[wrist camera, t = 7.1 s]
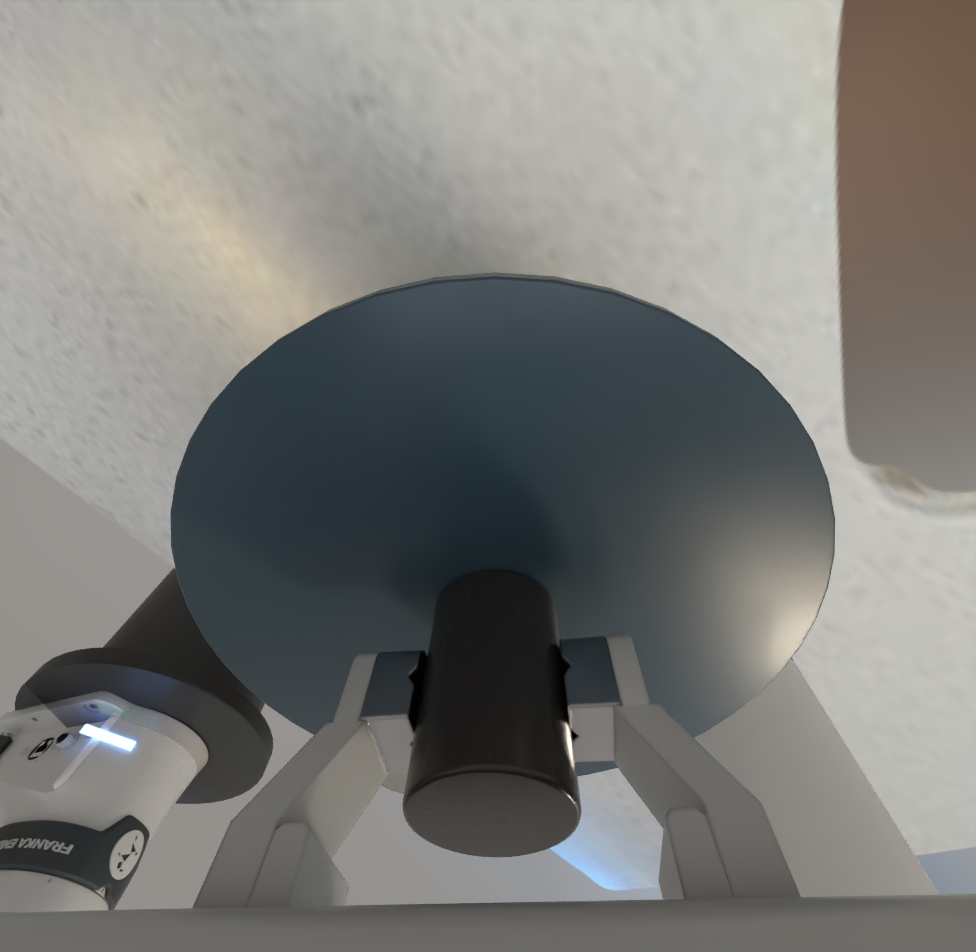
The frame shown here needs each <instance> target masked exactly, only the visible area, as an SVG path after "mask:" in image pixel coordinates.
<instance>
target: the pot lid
mask: <svg viewBox="0 0 976 952" xmlns="http://www.w3.org/2000/svg"><path fill="white" fill-rule="evenodd" d="M834 546H835V516H834V511H833V505H832V499H831V494H830V488H829V482H828V479H827V476H826V474H825V471H824V468H823V466H822V463H821V461H820V458H819V455H818V453H817V450H816V448H815V445H814V442H813V441H812V439H811V438H810V436H809V434H808V433H807V431H806V430H805V428H804V426H803V425H802V423H801V421H800V420H799V418H798V417H797V415H796V413H795V412H794V410H793V409H792V407H791V405H790V404H789V403H788V402H787V401H786V400H785V399H784V398H783V397H782V395H781V394H780V393H779V392H778V391H777V390H776V389H775V388H774V387H773V386H772V384H771V383H770V382H769V381H768V380H767V379H766V378H765V377H764V376H763V375H762V373H761V372H760V371H759V370H758V369H756V368H755V367H754V366H752V365H751V364H750V363H749V362H747V361H746V360H745V359H744V358H742V357H741V356H740V355H738V354H737V353H736V352H735V351H733V350H732V349H731V348H729V347H728V346H727V345H726V344H724V343H723V342H722V341H721V340H719V339H718V338H716V337H715V336H713V335H712V334H710V333H709V332H707V331H705V330H703V329H701V328H700V327H698V326H696V325H694V324H692V323H691V322H689V321H687V320H685V319H683V318H681V317H680V316H678V315H676V314H674V313H672V312H671V311H669V310H667V309H665V308H663V307H660V306H658V305H655V304H652V303H649V302H647V301H644V300H641V299H639V298H636V297H633V296H630V295H628V294H625V293H622V292H619V291H617V290H614V289H611V288H607V287H602V286H597V285H592V284H588V283H583V282H578V281H573V280H568V279H564V278H559V277H554V276H539V275H523V274H507V273H485V274H473V275H460V276H447V277H436V278H431V279H427V280H422V281H418V282H413V283H409V284H405V285H400V286H396V287H391V288H387V289H382V290H379V291H377V292H374V293H371V294H369V295H366V296H364V297H361V298H358V299H356V300H353V301H351V302H348V303H345V304H343V305H340V306H338V307H335V308H332V309H330V310H328V311H327V312H325V313H323V314H321V315H320V316H318V317H316V318H314V319H313V320H311V321H309V322H307V323H306V324H304V325H302V326H300V327H299V328H297V329H295V330H294V331H292V332H290V333H288V334H287V335H285V336H283V337H282V338H280V339H279V340H277V341H276V342H275V343H274V344H272V345H271V346H270V347H269V348H267V349H266V350H265V351H264V352H263V353H261V354H260V355H259V356H258V357H256V358H255V359H254V360H253V361H251V362H250V363H249V364H248V365H247V366H245V367H244V368H243V369H242V370H240V371H239V373H238V374H237V375H236V376H235V377H234V378H233V380H232V381H231V382H230V383H229V384H228V385H227V386H226V388H225V389H224V390H223V391H222V392H221V393H220V395H219V396H218V397H217V398H216V399H215V400H214V401H213V403H212V404H211V405H210V407H209V408H208V410H207V412H206V413H205V415H204V417H203V419H202V420H201V422H200V424H199V425H198V427H197V429H196V430H195V432H194V434H193V435H192V437H191V439H190V441H189V444H188V446H187V449H186V452H185V455H184V457H183V460H182V463H181V466H180V468H179V471H178V474H177V477H176V483H175V489H174V495H173V501H172V507H171V548H172V553H173V558H174V563H175V568H176V573H177V578H178V581H179V584H180V587H181V589H182V592H183V595H184V598H185V600H186V603H187V606H188V608H189V610H190V612H191V614H192V616H193V618H194V620H195V621H196V623H197V625H198V627H199V629H200V631H201V632H202V634H203V636H204V638H205V639H206V640H207V642H208V643H209V644H210V646H211V647H212V649H213V650H214V651H215V653H216V654H217V655H218V657H219V658H220V659H221V661H222V662H223V663H224V664H225V665H226V666H227V667H228V669H229V670H230V671H231V672H232V673H233V674H234V675H235V676H236V677H237V678H238V679H239V680H240V681H241V682H242V684H243V685H245V686H246V687H247V688H248V689H249V690H250V691H252V692H253V693H254V694H255V695H256V696H257V697H259V698H260V699H261V700H262V701H263V702H264V703H266V704H267V705H268V706H269V707H271V708H272V709H274V710H275V711H277V712H278V713H279V714H281V715H283V716H284V717H285V718H287V719H288V720H289V721H291V722H292V723H294V724H296V725H298V726H299V727H301V728H303V729H305V730H306V731H308V732H310V733H312V734H313V735H315V734H316V733H317V732H318V731H319V730H320V729H321V728H322V727H323V726H324V725H325V724H326V723H330V722H333V720H334V717H335V714H336V711H337V708H338V705H339V702H340V699H341V696H342V693H343V690H344V687H345V684H346V681H347V678H348V675H349V672H350V669H351V666H352V663H353V660H354V659H355V657H356V656H357V655H358V654H359V653H376V652H396V651H418V650H424V651H425V652H426V655H427V661H426V667H425V673H424V679H423V685H422V691H421V697H420V703H419V709H418V715H417V721H416V726H415V732H414V738H413V744H412V750H411V756H410V762H409V768H408V774H407V780H406V786H405V792H404V798H403V812H404V816H405V819H406V821H407V823H408V825H409V826H410V827H411V828H412V830H413V831H414V832H416V833H417V834H418V835H419V836H421V837H422V838H424V839H425V840H427V841H429V842H430V843H433V844H434V845H437V846H439V847H442V848H445V849H448V850H451V851H454V852H459V853H463V854H468V855H474V856H482V857H512V856H520V855H526V854H531V853H535V852H539V851H542V850H545V849H548V848H551V847H553V846H555V845H557V844H559V843H561V842H562V841H564V840H565V839H567V838H568V837H569V836H570V835H571V834H572V833H573V832H574V831H575V829H576V828H577V826H578V824H579V820H580V817H581V803H580V795H579V787H578V779H577V776H581V775H588V774H592V773H597V772H601V771H605V770H610V769H614V768H618V767H617V766H616V764H615V761H590V762H575V755H574V747H573V739H572V731H571V729H570V726H569V720H568V712H567V704H566V696H565V686H564V676H563V672H562V663H561V654H560V644H559V640H561V639H573V638H584V637H596V636H604V637H605V636H615V635H629V636H630V637H631V638H632V642H633V645H634V649H635V652H636V656H637V659H638V662H639V666H640V669H641V673H642V676H643V680H644V683H645V687H646V690H647V694H648V697H649V700H650V704H659V705H660V706H661V707H662V708H663V709H664V710H665V711H666V712H667V713H668V714H669V715H670V716H671V717H672V718H673V719H674V720H675V721H676V722H678V723H679V724H680V725H681V726H682V727H683V728H684V729H685V730H686V731H687V732H688V733H689V734H690V735H691V736H692V737H693V738H695V737H697V736H699V735H701V734H703V733H705V732H706V731H708V730H710V729H711V728H713V727H714V726H716V725H717V724H719V723H721V722H722V721H724V720H725V719H727V718H728V717H730V716H731V715H733V714H734V713H735V712H737V711H738V710H739V709H740V708H742V707H743V706H744V705H745V704H747V703H748V702H749V701H751V700H752V699H753V698H754V697H756V696H757V695H758V694H759V693H760V692H761V691H762V690H763V689H764V688H765V687H766V686H767V685H768V684H769V683H770V682H771V681H772V680H773V679H774V678H775V677H776V676H777V675H778V674H779V673H780V672H781V670H782V669H783V668H784V667H785V665H786V664H787V663H788V661H789V660H790V659H791V658H792V656H793V655H794V654H795V652H796V651H797V650H798V649H799V647H800V646H801V644H802V642H803V640H804V639H805V637H806V635H807V633H808V632H809V630H810V628H811V626H812V625H813V623H814V621H815V619H816V617H817V614H818V612H819V609H820V607H821V604H822V601H823V599H824V596H825V593H826V591H827V588H828V584H829V579H830V574H831V569H832V564H833V559H834Z"/></svg>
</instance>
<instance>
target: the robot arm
mask: <svg viewBox="0 0 976 952" xmlns="http://www.w3.org/2000/svg"><path fill="white" fill-rule="evenodd" d="M559 644H560V654H561V663H562V672H563V676H564V686H565V696H566V704H567V712H568V720H569V726H570V729H571V731H572V739H573V747H574V755H575V762H590V761H615V764H616V766H617V767H618V768H619V770H620V771H621V772H622V774H623V775H624V776H625V778H626V779H627V780H628V782H629V783H630V784H631V786H632V787H633V788H634V790H635V791H636V793H637V794H638V795H639V797H640V798H641V799H642V801H643V802H644V803H645V805H646V806H647V807H648V809H649V810H650V811H651V813H652V814H653V815H654V817H655V818H656V819H657V821H658V822H659V823H660V825H661V826H662V827H663V840H662V850H661V861H660V871H659V884H660V888H661V893H662V898H663V900H616V901H562V902H511V903H510V902H509V903H458V904H407V905H405V904H404V905H355V906H354V905H353V906H352V905H351V906H345V903H346V899H347V894H348V889H349V887H348V885H347V883H346V881H345V879H344V877H343V876H342V875H341V873H340V872H339V870H338V869H337V867H336V866H335V864H334V863H333V861H332V860H331V859H332V858H333V856H334V855H335V853H336V852H337V850H338V849H339V847H340V846H341V844H342V843H343V841H344V840H345V838H346V837H347V835H348V834H349V832H350V831H351V829H352V828H353V827H354V825H355V823H356V822H357V821H358V819H359V817H360V816H361V815H362V813H363V812H364V810H365V809H366V807H367V806H368V804H369V803H370V801H371V800H372V798H373V797H374V795H375V794H376V792H377V791H378V789H379V788H380V786H381V785H382V783H383V782H384V780H385V779H386V777H387V776H388V775H389V774H388V772H390V771H403V770H408V768H409V762H410V756H411V750H412V744H413V738H414V732H415V726H416V721H417V715H418V709H419V703H420V697H421V691H422V685H423V679H424V673H425V667H426V661H427V655H426V652H425V651H424V650H418V651H396V652H376V653H359V654H358V655H357V656H356V657H355V659H354V660H353V663H352V666H351V669H350V672H349V675H348V678H347V681H346V684H345V687H344V690H343V693H342V696H341V699H340V702H339V705H338V708H337V711H336V714H335V717H334V720H333V722H330V723H326V724H325V725H324V726H323V727H322V728H321V729H320V730H319V731H318V732H317V733H316V734H315V735H314V736H313V737H312V738H311V739H310V740H309V741H308V742H307V743H306V745H304V747H302V748H301V749H300V750H299V752H298V753H297V754H296V755H295V756H294V757H293V758H292V759H291V760H290V761H289V762H288V763H287V764H286V765H285V766H284V767H283V768H282V769H281V770H280V771H279V772H278V773H277V774H276V775H275V776H274V777H273V778H272V779H271V780H270V781H269V783H268V784H267V785H266V786H265V787H264V788H263V789H262V790H261V791H260V792H259V793H258V794H257V795H256V796H255V797H254V798H253V799H252V800H251V801H250V802H249V803H248V804H247V805H246V806H245V807H244V808H243V809H242V810H241V811H240V812H239V813H238V815H237V816H236V817H235V818H234V819H233V820H232V821H231V822H230V825H229V827H228V829H227V831H226V833H225V836H224V838H223V840H222V842H221V845H220V847H219V849H218V851H217V854H216V856H215V858H214V861H213V863H212V865H211V867H210V869H209V872H208V874H207V876H206V878H205V881H204V883H203V885H202V888H201V890H200V892H199V894H198V897H197V899H196V901H195V903H194V906H193V908H192V909H143V910H142V909H141V910H114V908H115V907H116V905H117V903H118V901H119V900H120V898H121V896H122V894H123V893H124V891H125V889H126V888H127V886H128V884H129V882H130V880H131V878H132V877H133V875H134V873H135V872H136V870H137V868H138V865H139V862H140V860H141V858H142V855H143V852H144V850H145V848H146V845H147V843H148V842H149V841H150V839H151V838H152V836H153V835H154V833H155V832H156V830H157V829H158V828H159V826H160V825H161V823H162V822H163V820H164V819H165V817H166V816H167V814H168V813H169V811H170V810H171V808H172V807H173V805H174V804H175V803H176V801H177V800H178V798H179V797H180V796H181V794H182V793H183V792H184V790H185V789H186V788H187V786H188V785H189V784H190V782H191V781H192V780H193V779H194V778H195V776H196V775H197V774H198V773H199V772H200V771H201V769H202V768H203V767H204V766H205V765H206V763H207V761H208V750H207V747H206V745H205V744H204V742H203V741H202V739H201V738H200V737H199V736H198V735H197V734H196V733H195V732H194V731H193V730H191V729H190V728H189V727H187V726H186V725H184V724H183V723H181V722H179V721H178V720H176V719H174V718H172V717H170V716H167V715H165V714H163V713H160V712H157V711H154V710H151V709H148V708H144V707H141V706H138V705H135V704H132V703H130V702H128V701H127V700H125V699H123V698H121V697H119V696H117V695H115V694H112V693H110V692H106V691H98V692H93V693H89V694H85V695H81V696H76V697H72V698H68V699H63V700H59V701H55V702H50V703H46V704H42V705H38V706H33V707H29V708H25V709H20V710H16V711H12V712H8V713H5V714H4V715H3V716H2V717H1V719H0V733H1V735H0V952H976V894H943V895H942V894H941V895H887V896H833V897H801V896H800V893H799V891H798V888H797V886H796V884H795V881H794V879H793V877H792V874H791V872H790V870H789V867H788V865H787V862H786V860H785V858H784V855H783V853H782V851H781V848H780V846H779V844H778V841H777V839H776V836H775V834H774V832H773V829H772V827H771V825H770V822H769V820H768V817H767V815H766V813H765V810H764V808H763V806H762V803H761V802H760V801H759V800H758V799H757V798H756V797H755V796H754V795H753V794H752V793H751V792H749V791H748V790H747V789H746V788H745V787H744V786H743V785H742V784H741V783H740V782H739V781H738V780H737V779H736V778H735V777H734V776H733V775H732V774H731V773H730V772H729V771H728V770H727V769H725V768H724V767H723V766H722V765H721V764H720V763H719V762H718V761H717V760H716V759H715V758H714V757H713V756H712V755H711V754H710V753H709V752H708V751H707V750H706V749H705V748H704V747H703V746H702V745H700V744H699V743H698V742H697V741H696V740H695V739H694V738H693V737H692V736H691V735H690V734H689V733H688V732H687V731H686V730H685V729H684V728H683V727H682V726H681V725H680V724H679V723H678V722H676V721H675V720H674V719H673V718H672V717H671V716H670V715H669V714H668V713H667V712H666V711H665V710H664V709H663V708H662V707H661V706H660V705H659V704H650V700H649V697H648V694H647V690H646V687H645V683H644V680H643V676H642V673H641V669H640V666H639V662H638V659H637V656H636V652H635V649H634V645H633V642H632V638H631V637H630V636H629V635H615V636H605V637H604V636H596V637H584V638H573V639H561V640H559Z"/></svg>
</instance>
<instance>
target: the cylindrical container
mask: <svg viewBox="0 0 976 952" xmlns="http://www.w3.org/2000/svg"><path fill="white" fill-rule="evenodd" d="M694 739H695V740H696V741H697V742H698V743H699V744H700V745H702V746H703V747H704V748H705V749H706V750H707V751H708V752H709V753H710V754H711V755H712V756H713V757H714V758H715V759H716V760H717V761H718V762H719V763H720V764H721V765H722V766H723V767H724V768H725V769H727V770H728V771H729V772H730V773H731V774H732V775H733V776H734V777H735V778H736V779H737V780H738V781H739V782H740V783H741V784H742V785H743V786H744V787H745V788H746V789H747V790H748V791H749V792H751V793H752V794H753V795H754V796H755V797H756V798H757V799H758V800H759V801H760V802H761V803H762V806H763V808H764V810H765V813H766V815H767V817H768V820H769V822H770V825H771V827H772V829H773V832H774V834H775V836H776V839H777V841H778V844H779V846H780V848H781V851H782V853H783V855H784V858H785V860H786V862H787V865H788V867H789V870H790V872H791V874H792V877H793V879H794V881H795V884H796V886H797V888H798V891H799V893H800V896H801V897H833V896H887V895H939V893H938V891H937V890H936V888H935V887H934V885H933V883H932V882H931V880H930V879H929V877H928V875H927V874H926V872H925V871H924V869H923V867H922V866H921V864H920V863H919V861H918V859H917V858H916V856H915V855H914V853H913V851H912V850H911V848H910V847H909V845H908V843H907V842H906V840H905V839H904V837H903V835H902V834H901V832H900V831H899V829H898V827H897V826H896V824H895V822H894V821H893V819H892V818H891V816H890V814H889V813H888V811H887V810H886V808H885V806H884V805H883V803H882V802H881V800H880V798H879V797H878V795H877V794H876V792H875V790H874V789H873V787H872V786H871V784H870V782H869V781H868V779H867V778H866V776H865V774H864V773H863V771H862V770H861V768H860V766H859V765H858V763H857V762H856V760H855V758H854V757H853V755H852V754H851V752H850V750H849V749H848V747H847V746H846V744H845V742H844V741H843V739H842V738H841V736H840V734H839V733H838V731H837V730H836V728H835V726H834V725H833V723H832V721H831V720H830V718H829V717H828V715H827V713H826V712H825V710H824V709H823V707H822V705H821V704H820V702H819V701H818V699H817V697H816V696H815V694H814V693H813V691H812V689H811V688H810V686H809V685H808V683H807V681H806V680H805V678H804V677H803V675H802V673H801V672H800V670H799V669H798V667H797V666H796V664H795V662H794V661H793V659H792V658H791V659H790V660H789V661H788V663H787V664H786V665H785V667H784V668H783V669H782V670H781V672H780V673H779V674H778V675H777V676H776V677H775V678H774V679H773V680H772V681H771V682H770V683H769V684H768V685H767V686H766V687H765V688H764V689H763V690H762V691H761V692H760V693H759V694H758V695H757V696H756V697H754V698H753V699H752V700H751V701H749V702H748V703H747V704H745V705H744V706H743V707H742V708H740V709H739V710H738V711H737V712H735V713H734V714H733V715H731V716H730V717H728V718H727V719H725V720H724V721H722V722H721V723H719V724H717V725H716V726H714V727H713V728H711V729H710V730H708V731H706V732H705V733H703V734H701V735H699V736H697V737H695V738H694Z"/></svg>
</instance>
